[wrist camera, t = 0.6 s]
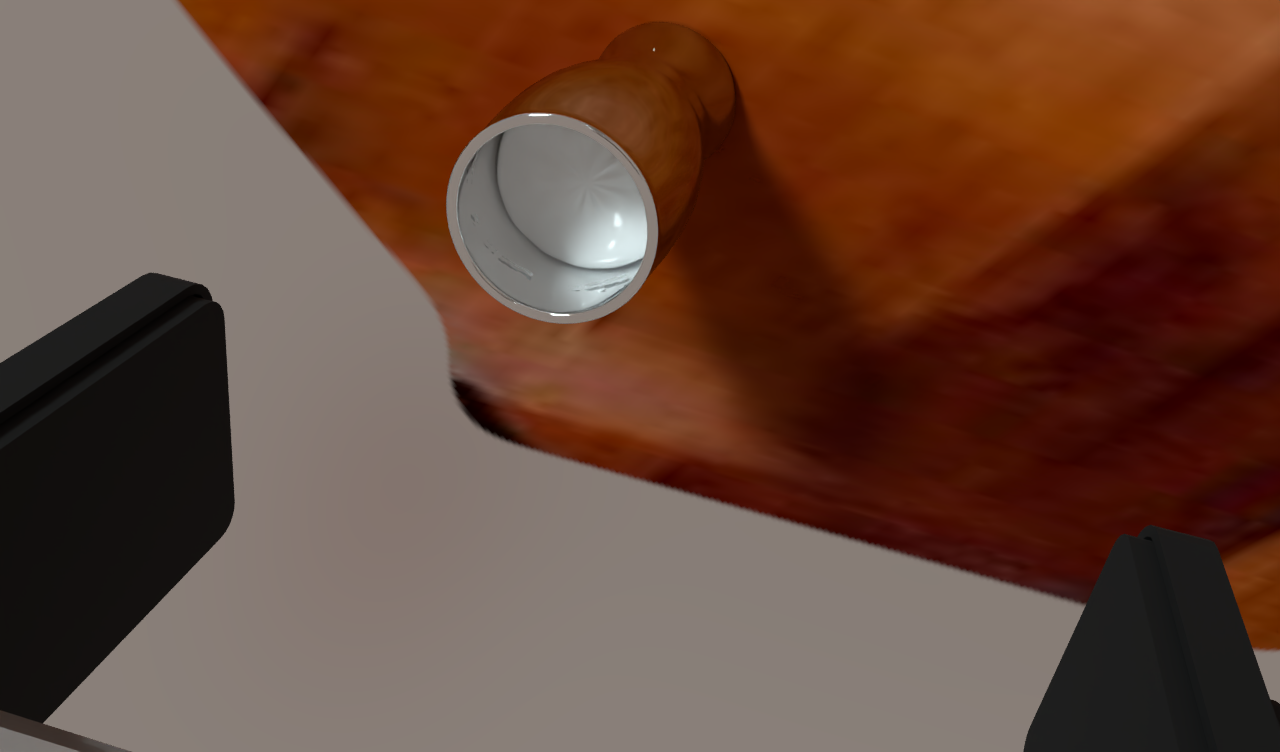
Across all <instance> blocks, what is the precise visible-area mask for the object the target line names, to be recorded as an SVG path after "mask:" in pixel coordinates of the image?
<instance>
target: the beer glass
mask: <svg viewBox="0 0 1280 752" xmlns="http://www.w3.org/2000/svg"><path fill="white" fill-rule="evenodd" d="M735 106H736V94H735V87H734V82H733V78H732V75H731V72H730V69H729V67H728V65H727V63H726V61H725V59H724V58H723V56H722V55H721V53H720V52H719V51H718V50H717V48H716V47H715V46H714V45H713V44H712V43H711V42H710V41H709V40H708V39H706V38H705V37H704V36H702V35H701V34H699V33H698V32H696V31H694V30H692V29H690V28H688V27H685V26H683V25H679V24H675V23H670V22H650V23H644V24H641V25H637V26H635V27H632V28H630V29H628V30H626V31H624V32H622V33H621V34H620V35H618V36H617V37H616V38H615V39H613V40H612V41H611V42H610V44H609V45H608V46H607V47H606V48H605V50H604V51H603V53H602V54H601V56H600V57H599V59H597V60H591V61H586V62H582V63H578V64H575V65H572V66H569V67H566V68H563V69H560V70H558V71H555V72H553V73H551V74H549V75H547V76H546V77H544V78H542V79H541V80H539V81H538V82H536V83H534V84H533V85H531V86H530V87H528V88H527V89H525V90H524V91H522V92H521V93H520V94H519V95H518V96H517V97H515V98H514V99H513V100H512V101H511V102H510V103H508V104H507V105H506V106H505V107H504V108H503V109H502V110H501V111H500V112H499V113H498V114H497V115H496V116H495V117H494V118H493V119H492V120H491V121H490V122H489V124H488V125H487V126H486V127H485V128H484V129H483V130H482V131H481V132H480V133H479V134H477V135H476V136H475V137H474V138H473V139H472V140H471V141H470V142H469V143H468V145H467V146H466V147H465V148H464V150H463V151H462V153H461V154H460V156H459V158H458V159H457V161H456V163H455V166H454V168H453V171H452V173H451V176H450V180H449V184H448V190H447V200H446V208H447V219H448V225H449V230H450V234H451V237H452V240H453V243H454V246H455V248H456V250H457V253H458V255H459V257H460V258H461V260H462V262H463V264H464V265H465V267H466V268H467V270H468V271H469V273H470V274H471V275H472V277H473V278H474V279H475V280H476V281H477V283H478V284H479V285H480V286H481V287H482V288H483V289H484V290H485V291H486V292H488V293H489V294H490V295H491V296H492V297H493V298H495V299H496V300H497V301H499V302H500V303H502V304H503V305H505V306H506V307H508V308H510V309H512V310H514V311H516V312H518V313H520V314H522V315H525V316H527V317H530V318H533V319H536V320H540V321H545V322H550V323H561V324H571V323H581V322H587V321H591V320H595V319H598V318H600V317H603V316H605V315H608V314H610V313H612V312H613V311H615V310H617V309H618V308H620V307H621V306H623V305H624V304H625V303H626V302H628V301H629V300H630V299H631V298H632V297H633V296H634V295H635V294H636V293H637V292H638V290H639V289H640V288H641V286H642V285H643V284H644V282H645V280H646V279H647V278H648V277H649V276H650V275H651V274H652V273H653V271H654V270H655V269H656V268H657V267H658V265H659V264H660V263H661V262H662V261H663V260H664V258H665V257H666V256H667V254H668V253H669V252H670V250H671V249H672V247H673V246H674V244H675V243H676V241H677V240H678V238H679V237H680V235H681V234H682V232H683V230H684V228H685V226H686V224H687V222H688V220H689V218H690V216H691V214H692V211H693V209H694V207H695V204H696V201H697V197H698V193H699V189H700V185H701V180H702V175H703V167H704V160H706V159H707V158H708V157H710V156H711V155H712V154H713V153H714V152H715V151H716V150H717V149H718V147H719V146H720V145H721V144H722V142H723V141H724V139H725V138H726V136H727V134H728V132H729V130H730V128H731V125H732V122H733V118H734V114H735Z"/></svg>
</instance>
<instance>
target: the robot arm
mask: <svg viewBox="0 0 1280 752" xmlns="http://www.w3.org/2000/svg"><path fill="white" fill-rule="evenodd" d="M227 375H228V374H227V356H226V340H225V321H224V313H223V310H222V308H221V306H220V305H219V304H218V303H217V302H213V301H212V296H211V294H210V292H209V290H208V289H207V288H206V287H204V286H203V285H201V284H197V283H193V282H189V281H185V280H182V279H178V278H173V277H170V276H166V275H162V274H158V273H148V274H145V275H143V276H141V277H139V278H138V279H136V280H135V281H133V282H131V283H130V284H128V285H127V286H125V287H123V288H122V289H120V290H118V291H117V292H115V293H113V294H112V295H110V296H108V297H107V298H105V299H104V300H102V301H100V302H99V303H98V304H96V305H94V306H92V307H91V308H89V309H88V310H86V311H84V312H83V313H81V314H79V315H78V316H76V317H74V318H73V319H71V320H70V321H68V322H66V323H65V324H63V325H61V326H60V327H58V328H57V329H55V330H54V331H52V332H50V333H48V334H47V335H45V336H44V337H42V338H40V339H39V340H37V341H36V342H34V343H32V344H31V345H29V346H27V347H26V348H24V349H22V350H21V351H20V352H18V353H16V354H14V355H13V356H11V357H10V358H8V359H6V360H5V361H3V362H1V363H0V752H131V751H128V750H124V749H121V748H118V747H115V746H112V745H108V744H105V743H102V742H99V741H96V740H93V739H90V738H86V737H83V736H80V735H77V734H74V733H71V732H67V731H64V730H61V729H58V728H55V727H52V726H48V725H45V724H43V722H44V721H45V720H46V719H47V718H48V717H49V716H50V715H51V714H52V713H53V712H54V711H55V710H56V709H57V708H58V707H59V706H60V705H61V704H62V703H63V702H64V701H65V700H66V698H67V697H68V696H69V695H70V694H71V693H72V692H73V691H74V690H75V689H76V688H77V687H78V686H79V685H80V684H81V683H82V682H83V681H84V680H85V679H86V678H87V677H88V676H89V675H90V673H91V672H92V671H93V670H94V669H95V668H96V667H97V666H98V665H99V664H100V663H101V662H102V661H103V660H104V659H105V658H106V657H107V656H108V655H109V654H110V653H111V652H112V651H113V650H114V649H115V647H116V646H117V645H118V644H119V643H120V642H121V641H122V640H123V639H124V638H125V637H126V636H127V635H128V634H129V633H130V632H131V631H132V630H133V629H134V628H135V627H136V625H138V624H139V622H140V621H141V620H142V619H143V618H144V617H145V616H146V615H147V614H148V613H149V612H150V611H151V610H152V609H153V608H154V607H155V606H156V605H157V604H158V603H159V602H160V601H161V600H162V598H163V597H164V596H165V595H166V594H167V593H168V592H169V591H170V590H171V589H172V588H173V587H174V586H175V585H176V584H177V583H178V582H179V581H180V580H181V579H182V578H183V576H185V575H186V574H187V573H188V571H189V570H190V569H191V568H192V567H193V566H194V565H195V564H196V563H197V562H198V561H199V560H200V559H201V558H202V557H203V556H204V555H205V554H206V553H207V552H208V551H209V550H210V549H211V548H212V546H213V545H214V544H215V543H216V542H217V541H218V540H219V539H220V538H221V537H222V536H223V534H224V533H225V532H226V530H227V528H228V526H229V524H230V522H231V519H232V516H233V512H234V503H235V502H234V501H235V500H234V482H233V464H232V446H231V429H230V410H229V393H228V376H227ZM1024 752H1280V704H1279V703H1278V702H1276V701H1274V700H1270V698H1269V695H1268V692H1267V689H1266V686H1265V683H1264V680H1263V678H1262V675H1261V672H1260V669H1259V666H1258V663H1257V660H1256V657H1255V655H1254V652H1253V649H1252V646H1251V643H1250V640H1249V637H1248V634H1247V631H1246V629H1245V626H1244V623H1243V620H1242V617H1241V614H1240V611H1239V608H1238V606H1237V603H1236V600H1235V597H1234V594H1233V591H1232V588H1231V585H1230V583H1229V580H1228V577H1227V574H1226V571H1225V568H1224V565H1223V562H1222V560H1221V557H1220V554H1219V551H1218V548H1217V547H1216V545H1215V543H1214V542H1212V541H1210V540H1207V539H1204V538H1200V537H1196V536H1192V535H1188V534H1184V533H1180V532H1176V531H1172V530H1168V529H1164V528H1160V527H1156V526H1152V525H1149V526H1147V527H1145V528H1144V529H1143V530H1142V531H1141V532H1140V534H1139V535H1138V537H1134V536H1130V535H1126V534H1123V535H1121V536H1120V537H1119V538H1118V539H1117V541H1116V542H1115V544H1114V546H1113V548H1112V550H1111V552H1110V554H1109V557H1108V559H1107V561H1106V563H1105V565H1104V567H1103V570H1102V572H1101V574H1100V576H1099V578H1098V580H1097V583H1096V585H1095V587H1094V589H1093V591H1092V593H1091V596H1090V598H1089V600H1088V602H1087V604H1086V606H1085V609H1084V611H1083V613H1082V615H1081V617H1080V620H1079V622H1078V624H1077V626H1076V628H1075V630H1074V633H1073V635H1072V637H1071V639H1070V641H1069V643H1068V646H1067V648H1066V650H1065V652H1064V654H1063V656H1062V659H1061V661H1060V663H1059V665H1058V667H1057V669H1056V672H1055V674H1054V676H1053V678H1052V680H1051V683H1050V685H1049V687H1048V689H1047V691H1046V693H1045V696H1044V698H1043V700H1042V702H1041V704H1040V706H1039V708H1038V711H1037V713H1036V715H1035V717H1034V719H1033V722H1032V724H1031V726H1030V728H1029V731H1028V734H1027V737H1026V741H1025V746H1024Z"/></svg>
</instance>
